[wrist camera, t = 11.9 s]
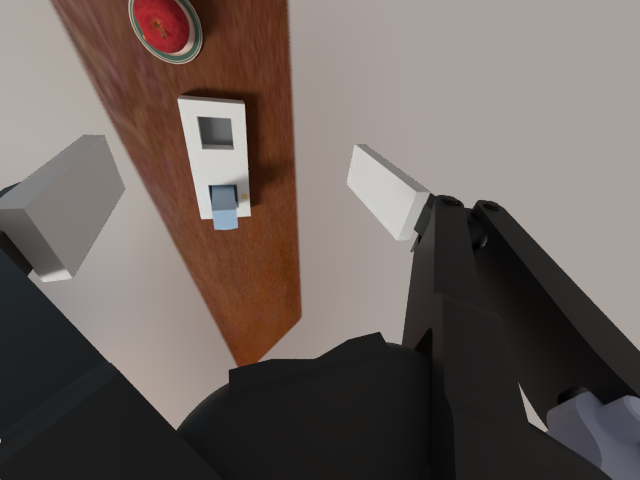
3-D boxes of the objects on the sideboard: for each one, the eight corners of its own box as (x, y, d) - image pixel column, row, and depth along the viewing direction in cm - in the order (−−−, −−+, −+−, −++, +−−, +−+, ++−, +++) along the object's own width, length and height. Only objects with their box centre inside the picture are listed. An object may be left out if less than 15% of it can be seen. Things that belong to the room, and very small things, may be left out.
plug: (212, 182, 45) (211, 210, 38) (233, 181, 46) (236, 209, 39) (215, 202, 47) (215, 233, 40) (234, 202, 49) (238, 231, 41)
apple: (180, 77, 35) (175, 84, 30) (116, 20, 30) (97, 17, 25) (215, 30, 33) (214, 29, 28) (152, -40, 28) (140, -56, 23)
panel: (179, 95, 36) (177, 99, 34) (243, 100, 39) (244, 104, 37) (202, 210, 48) (201, 219, 46) (249, 208, 51) (250, 216, 49)
